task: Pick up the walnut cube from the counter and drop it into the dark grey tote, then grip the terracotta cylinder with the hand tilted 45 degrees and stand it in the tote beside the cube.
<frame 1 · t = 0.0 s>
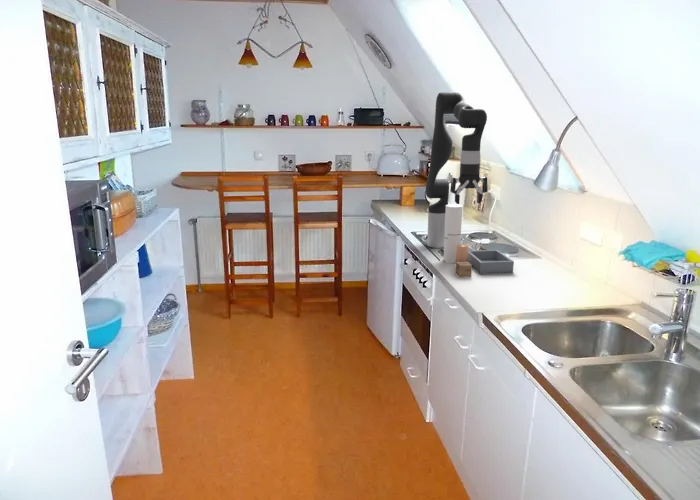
hand: (468, 203, 197), 29 cm above the worktop, tool pointing down, fingers open, 8 cm apart
grey tote: (488, 267, 212), on the worktop
terracotta cylinder: (461, 268, 211), on the worktop
cylindrical container: (451, 260, 223), on the worktop
walnut cube: (463, 275, 202), on the worktop
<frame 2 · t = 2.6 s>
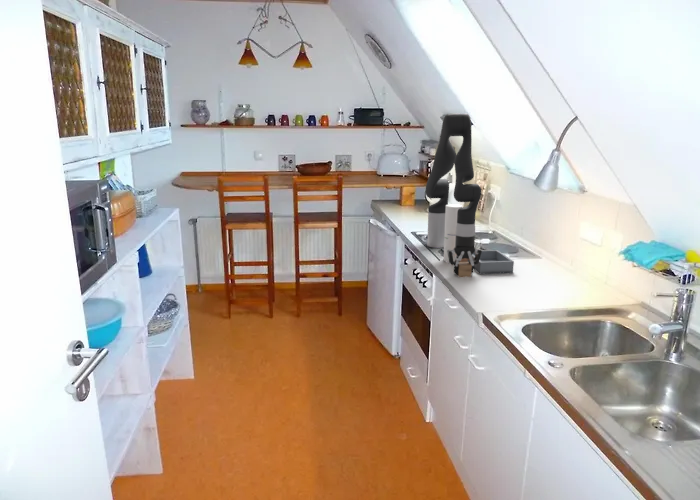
hand: (463, 273, 202), 0 cm above the worktop, tool pointing down, fingers closed on walnut cube, 5 cm apart
walnut cube: (463, 275, 202), on the worktop, touching gripper
everything else where it was.
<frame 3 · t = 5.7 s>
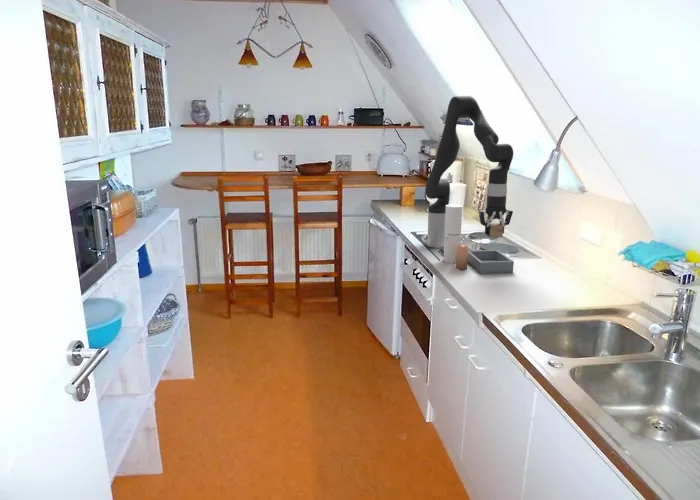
hand: (494, 234, 204), 15 cm above the worktop, tool pointing down, fingers closed on walnut cube, 5 cm apart
walnut cube: (494, 236, 204), point 15 cm above the worktop, touching gripper
everything else where it was.
when the fingers open (3 cm above the worktop, at t = 8.4 s): walnut cube drops 1 cm, resting on grey tote.
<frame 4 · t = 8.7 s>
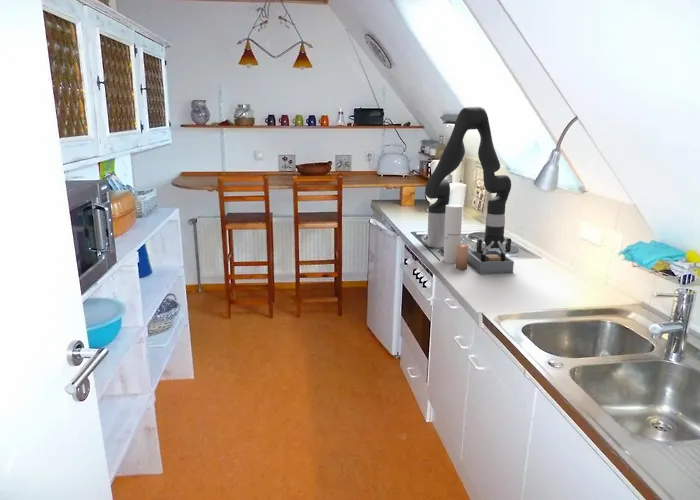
hand: (492, 262, 207), 3 cm above the worktop, tool pointing down, fingers open, 7 cm apart
walnut cube: (492, 267, 208), point 1 cm above the worktop, touching grey tote
everything else where it was.
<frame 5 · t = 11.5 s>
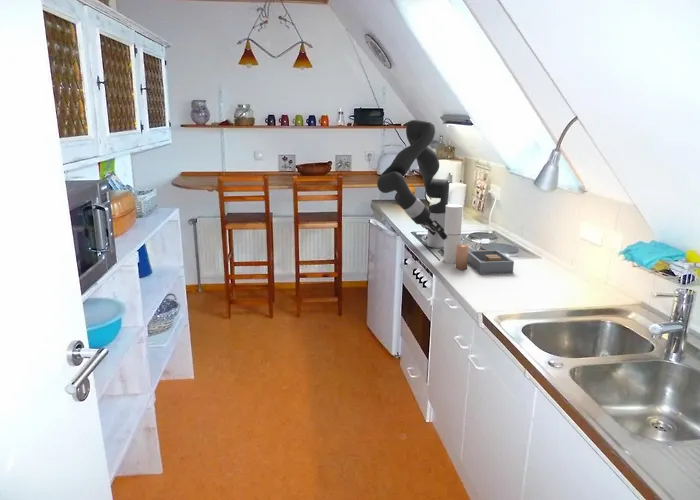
hand: (440, 235, 203), 15 cm above the worktop, tool tilted 45°, fingers open, 8 cm apart
nothing on the worktop moved.
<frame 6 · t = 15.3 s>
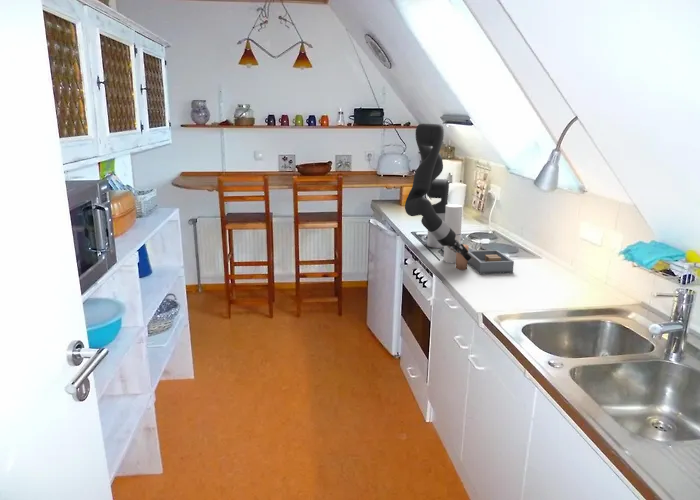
hand: (465, 257, 211), 5 cm above the worktop, tool tilted 45°, fingers closed on terracotta cylinder, 5 cm apart
terracotta cylinder: (461, 268, 211), on the worktop, touching gripper
everything else where it was.
when the fingers open (7 cm above the worktop, at t = 20.3 s): terracotta cylinder drops 1 cm, resting on grey tote.
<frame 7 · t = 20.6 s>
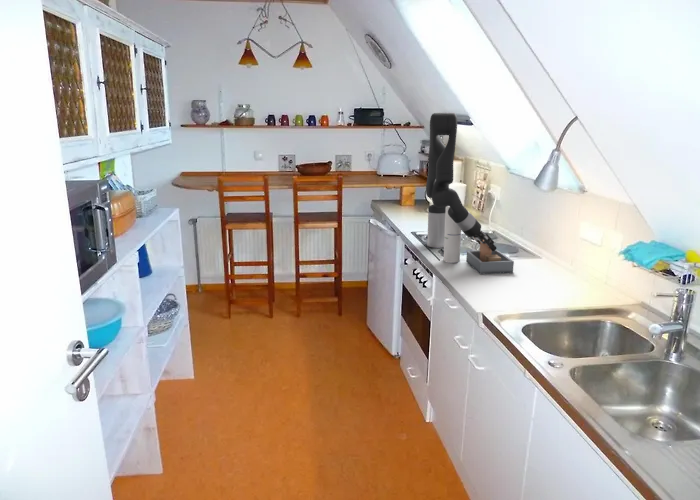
hand: (489, 247, 215), 7 cm above the worktop, tool tilted 45°, fingers open, 7 cm apart
terracotta cylinder: (485, 262, 216), point 1 cm above the worktop, touching grey tote
everything else where it was.
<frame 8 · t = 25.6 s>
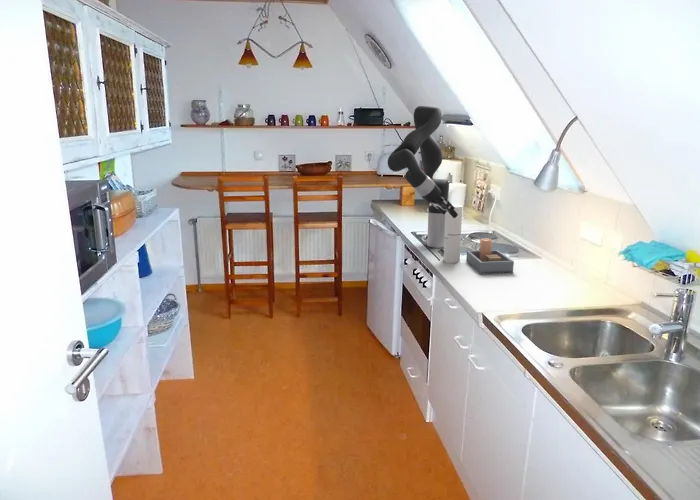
hand: (450, 214, 204), 24 cm above the worktop, tool tilted 45°, fingers open, 8 cm apart
nothing on the worktop moved.
at the end: walnut cube inside the target area on the grey tote (4.0 cm from its centre), point 1.0 cm above the grey tote's base; terracotta cylinder inside the target area on the grey tote (4.0 cm from its centre), point 1.1 cm above the grey tote's base; terracotta cylinder tilted 2° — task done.
